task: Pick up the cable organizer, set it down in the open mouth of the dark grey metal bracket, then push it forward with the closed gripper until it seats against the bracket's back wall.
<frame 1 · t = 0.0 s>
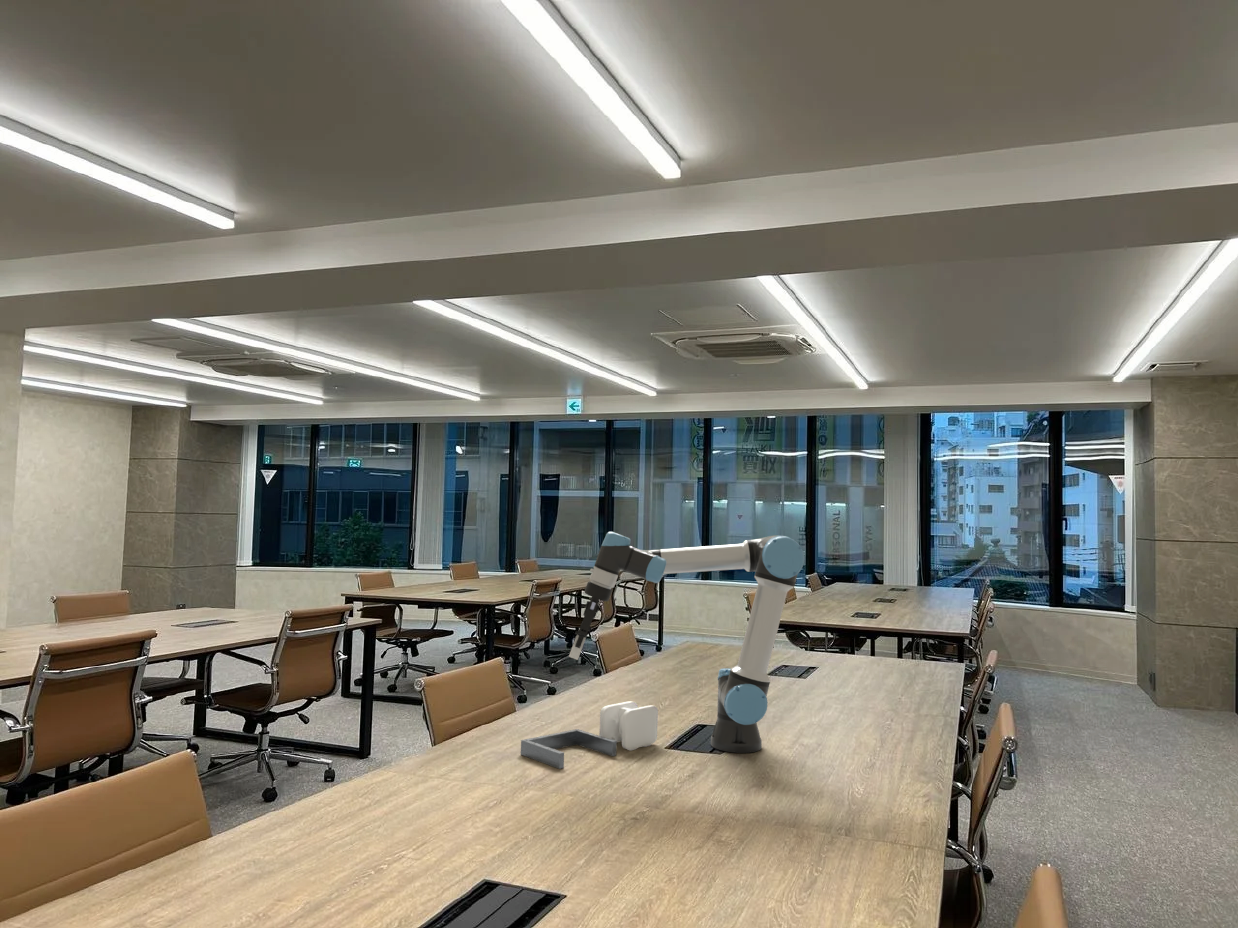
hand: (574, 654, 240), 28 cm above the table, tool tilted 20°, fingers open, 13 cm apart
bracket: (568, 754, 237), on the table
cable organizer: (627, 745, 249), on the table
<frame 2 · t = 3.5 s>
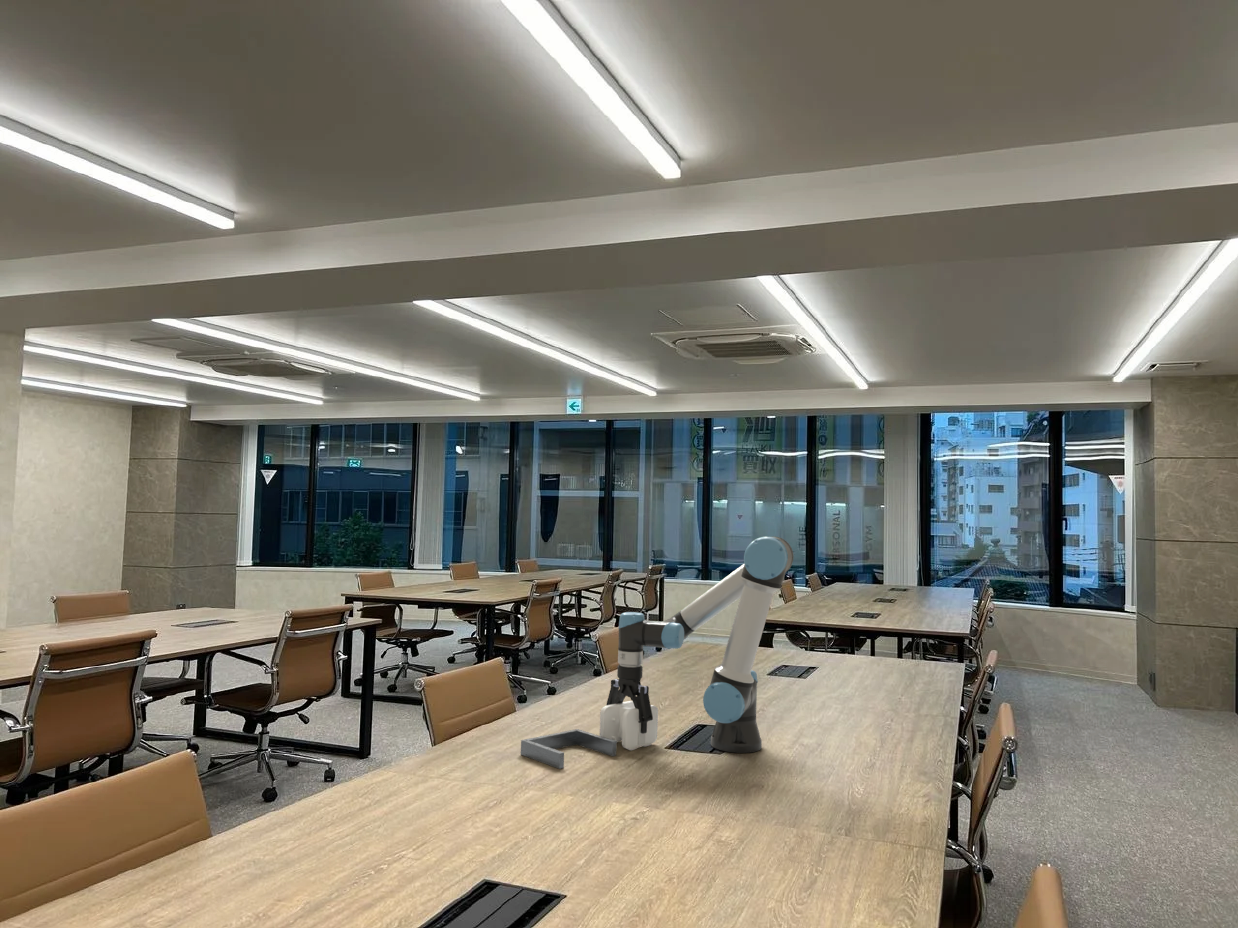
hand: (627, 739, 250), 1 cm above the table, tool pointing down, fingers closed on cable organizer, 10 cm apart
cable organizer: (627, 745, 249), on the table, touching gripper
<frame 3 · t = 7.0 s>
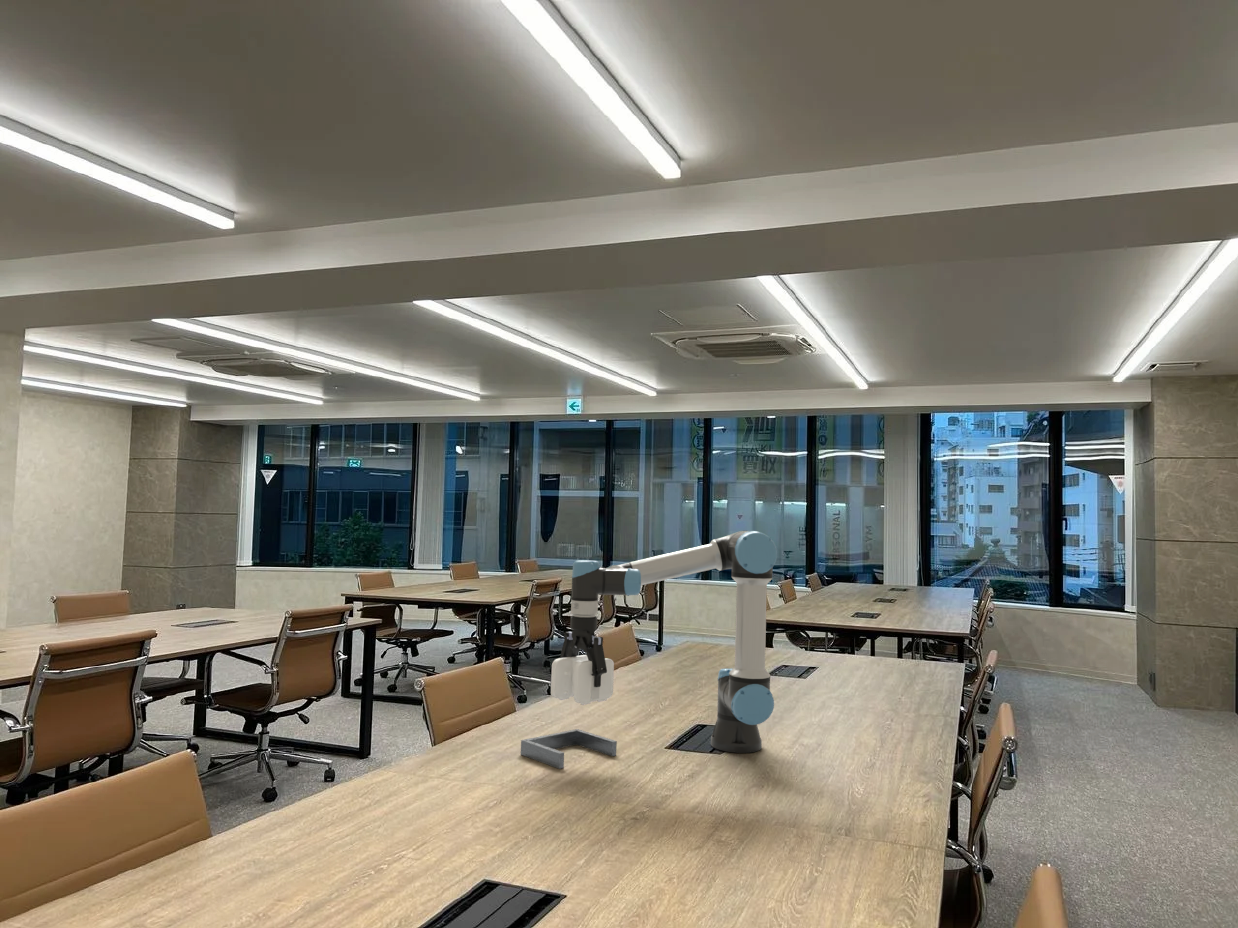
hand: (581, 695, 235), 17 cm above the table, tool pointing down, fingers closed on cable organizer, 10 cm apart
cable organizer: (581, 700, 235), point 16 cm above the table, touching gripper
when the fingers open (3 cm above the table, at t = 10.5 s): cable organizer drops 2 cm, on the table.
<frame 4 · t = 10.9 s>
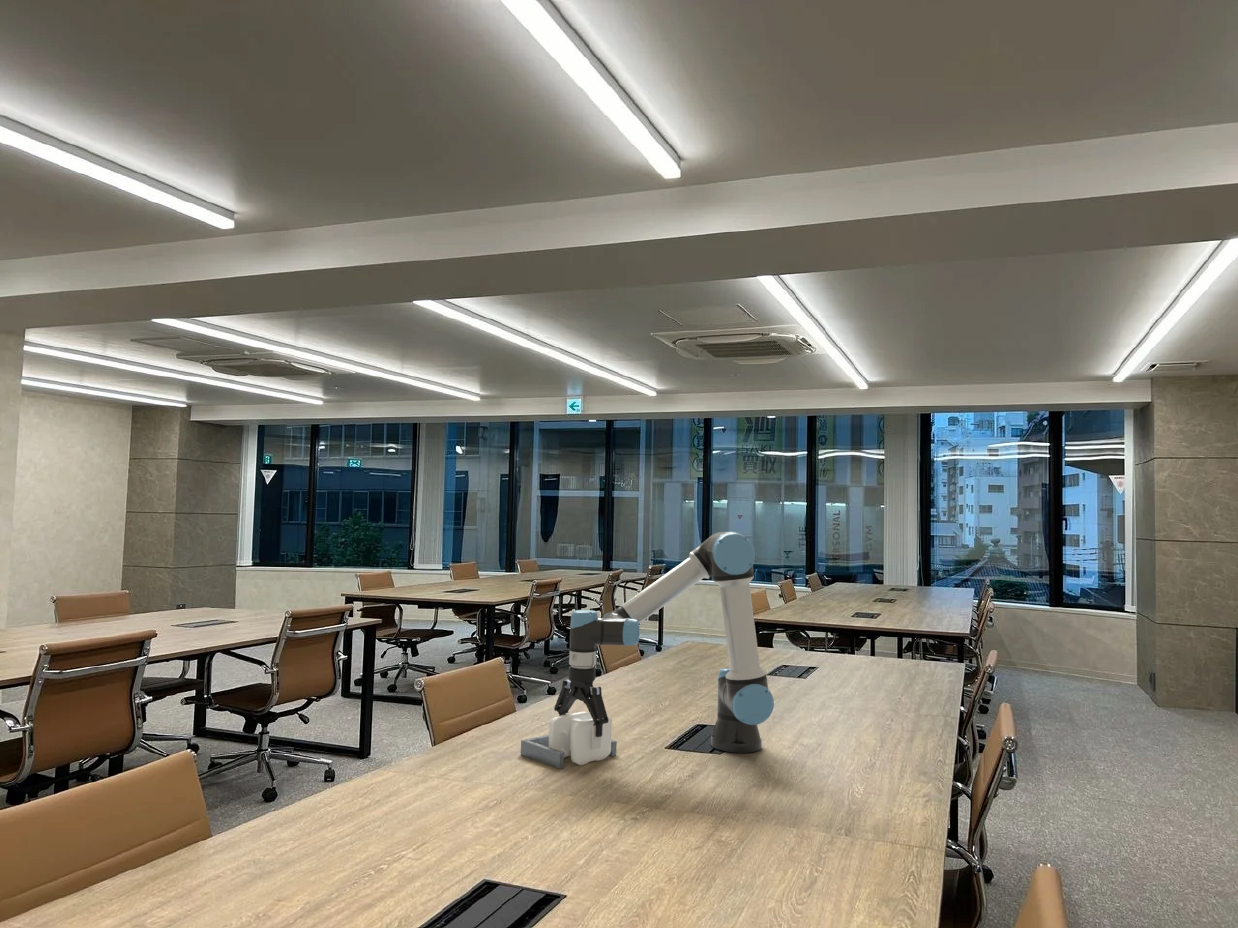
hand: (579, 743, 234), 4 cm above the table, tool pointing down, fingers open, 13 cm apart
cable organizer: (579, 759, 234), on the table
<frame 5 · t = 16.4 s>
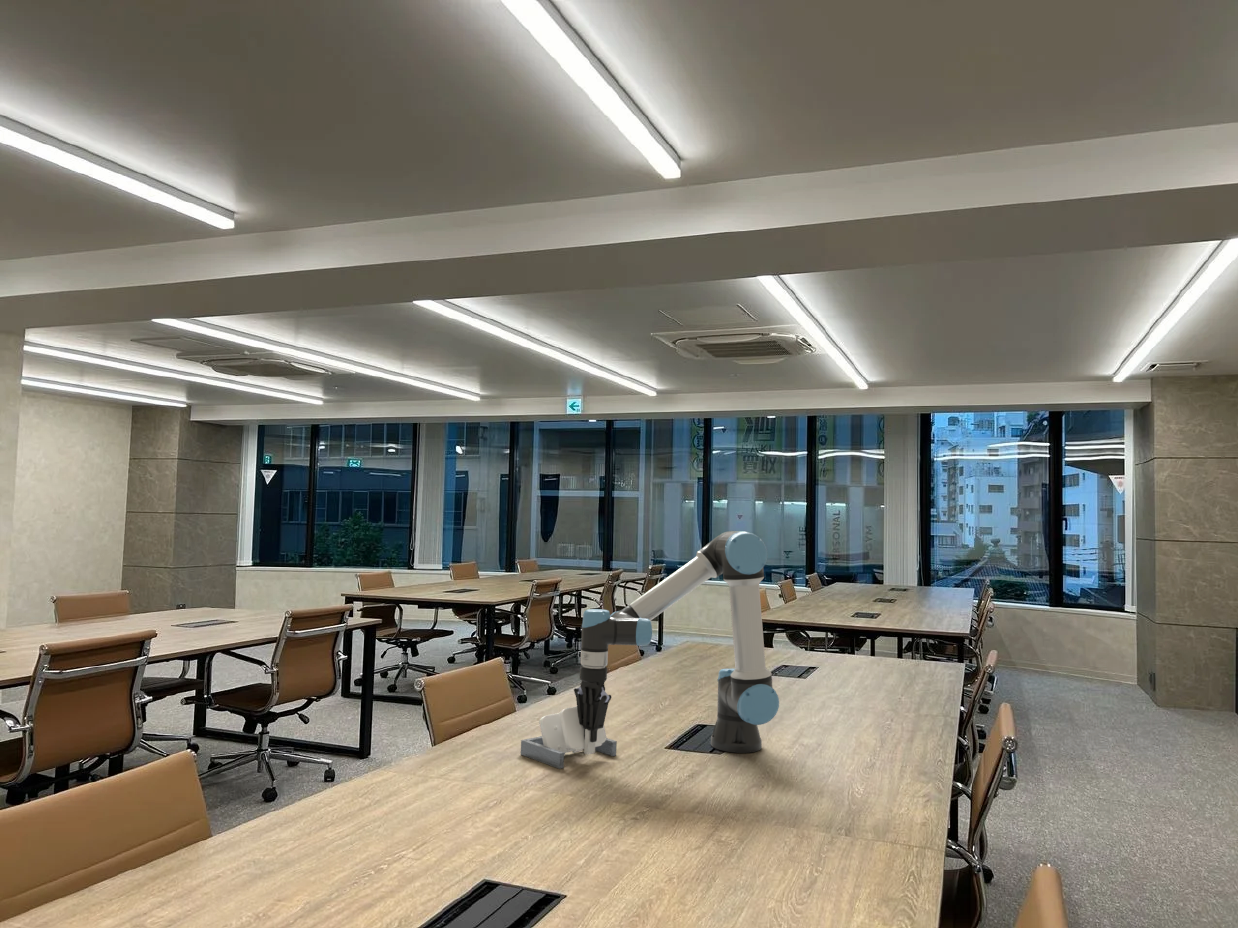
hand: (589, 752, 230), 3 cm above the table, tool pointing down, fingers closed
cable organizer: (577, 752, 234), point 2 cm above the table, touching gripper
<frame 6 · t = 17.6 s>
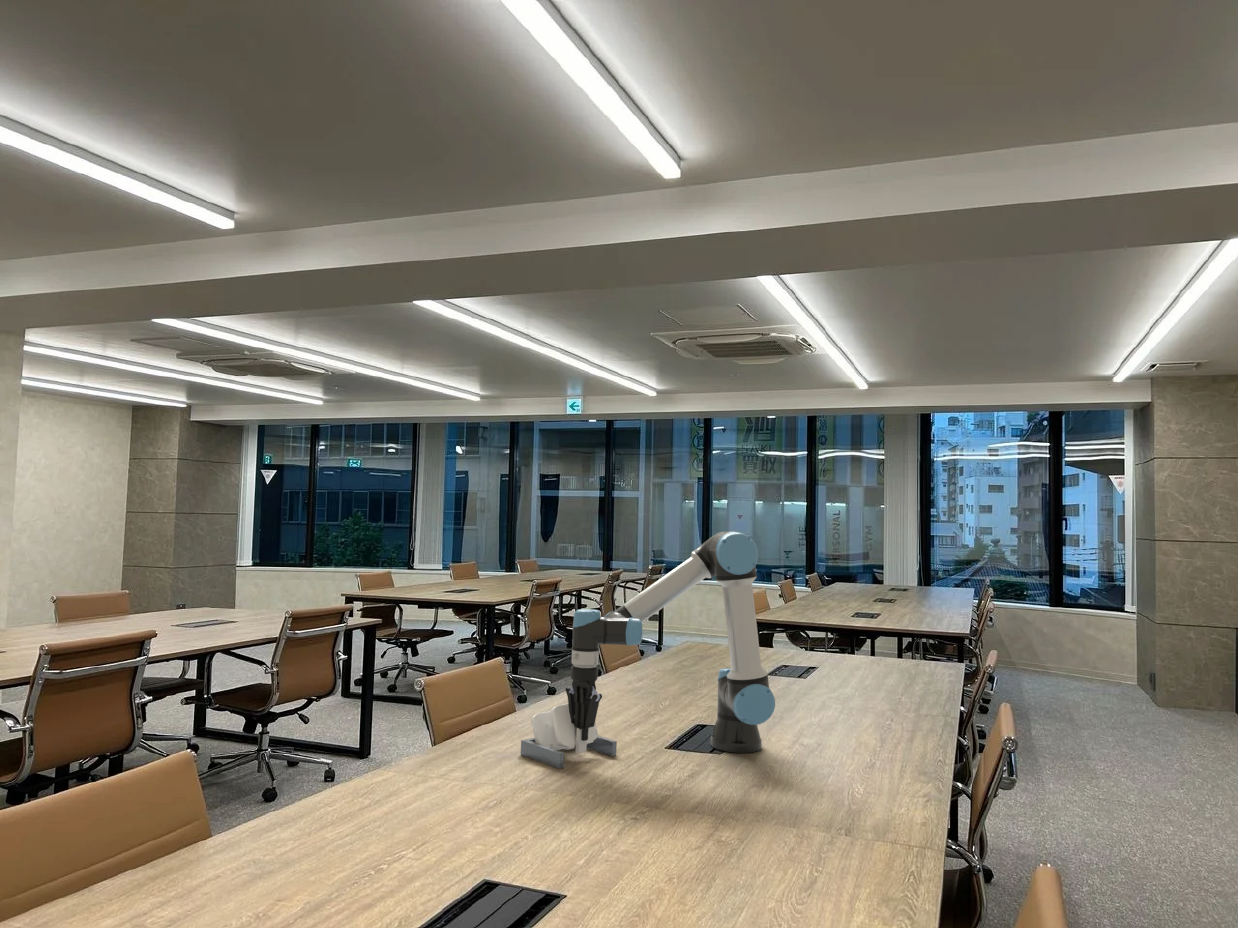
hand: (580, 751, 232), 2 cm above the table, tool pointing down, fingers closed
cable organizer: (569, 749, 236), point 2 cm above the table, touching gripper, hand
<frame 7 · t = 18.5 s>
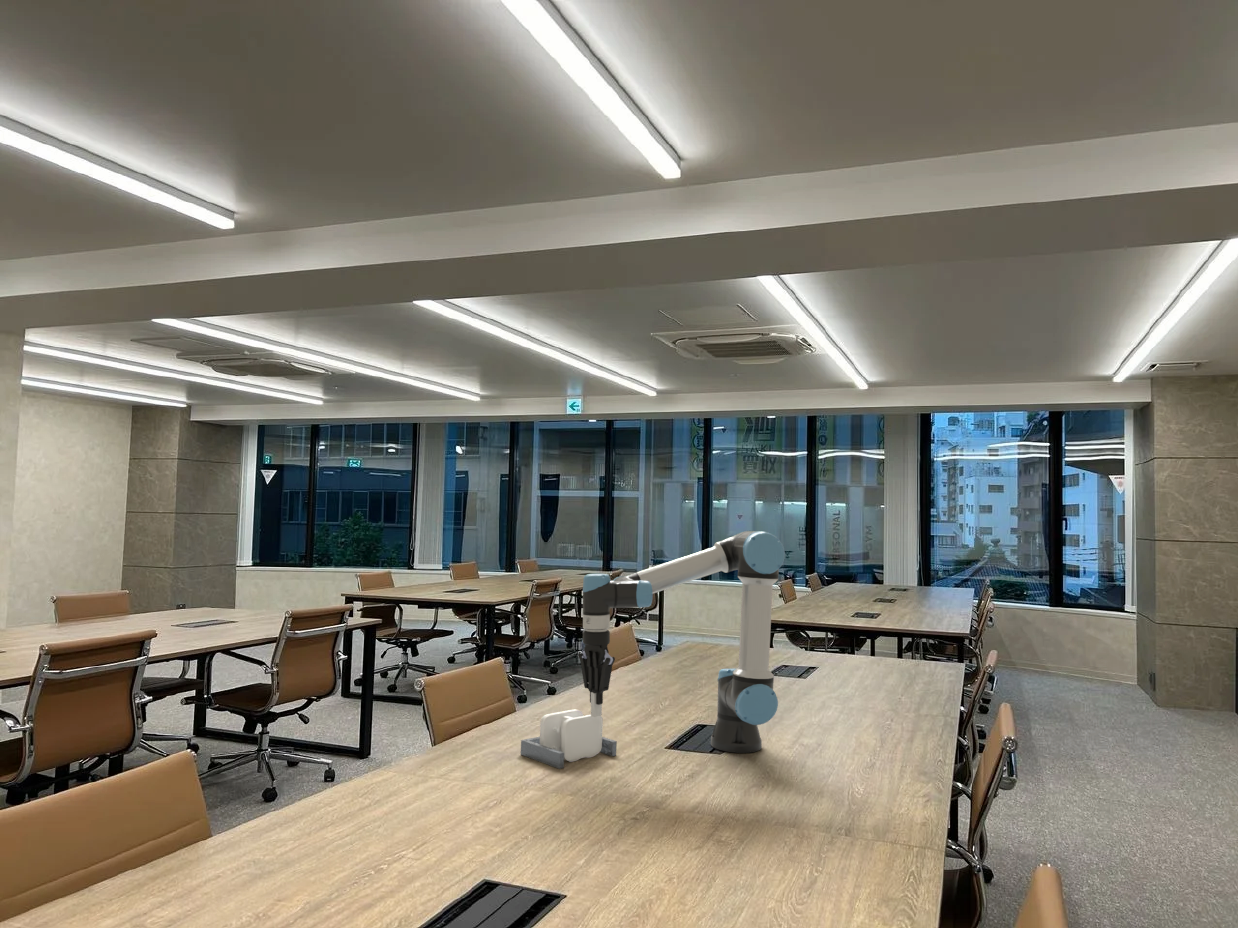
hand: (596, 715, 232), 12 cm above the table, tool pointing down, fingers closed
cable organizer: (570, 756, 236), on the table
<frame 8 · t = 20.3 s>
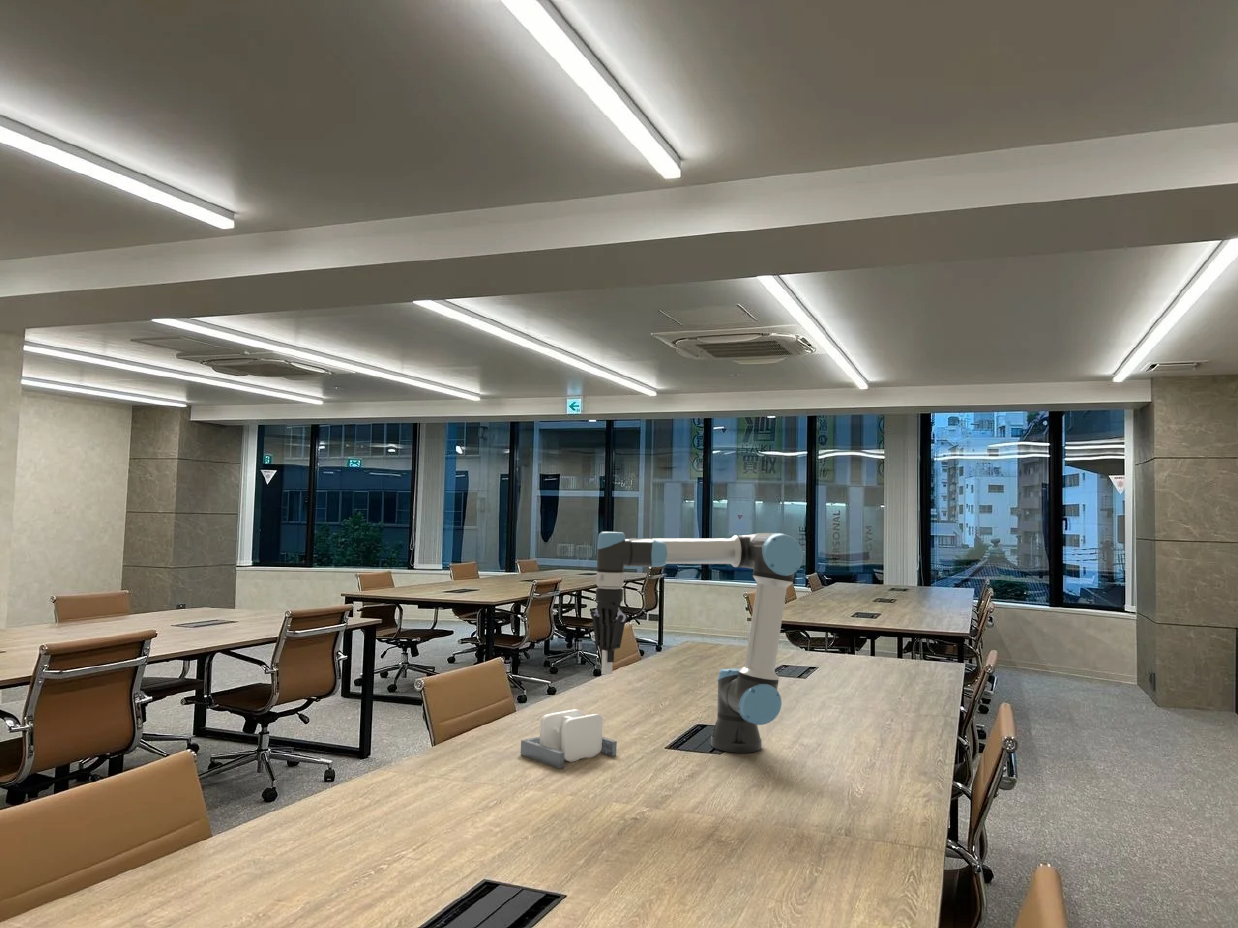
hand: (606, 673, 231), 24 cm above the table, tool pointing down, fingers closed
nothing on the table moved.
at the end: cable organizer inside the target area (2.2 cm from its centre), on the table; cable organizer tilted 0°; the gripper is holding nothing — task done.
